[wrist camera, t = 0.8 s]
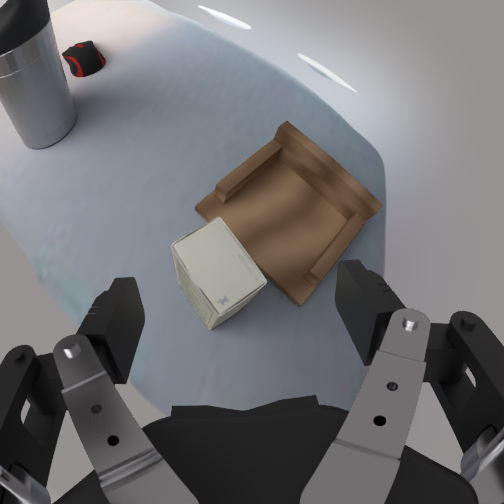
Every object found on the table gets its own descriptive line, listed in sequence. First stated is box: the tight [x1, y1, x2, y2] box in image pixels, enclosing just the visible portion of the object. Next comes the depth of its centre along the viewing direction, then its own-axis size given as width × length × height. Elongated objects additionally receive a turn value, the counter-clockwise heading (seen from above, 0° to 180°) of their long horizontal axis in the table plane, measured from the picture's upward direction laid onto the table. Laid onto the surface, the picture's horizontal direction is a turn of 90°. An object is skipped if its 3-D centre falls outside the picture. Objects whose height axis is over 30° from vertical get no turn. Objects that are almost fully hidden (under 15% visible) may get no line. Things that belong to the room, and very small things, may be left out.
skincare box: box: [171, 217, 267, 330], centre depth 27 cm, size 6×4×12 cm
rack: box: [195, 121, 382, 306], centre depth 34 cm, size 16×14×6 cm
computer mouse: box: [62, 41, 106, 77], centre depth 38 cm, size 6×11×4 cm, turn 40°
